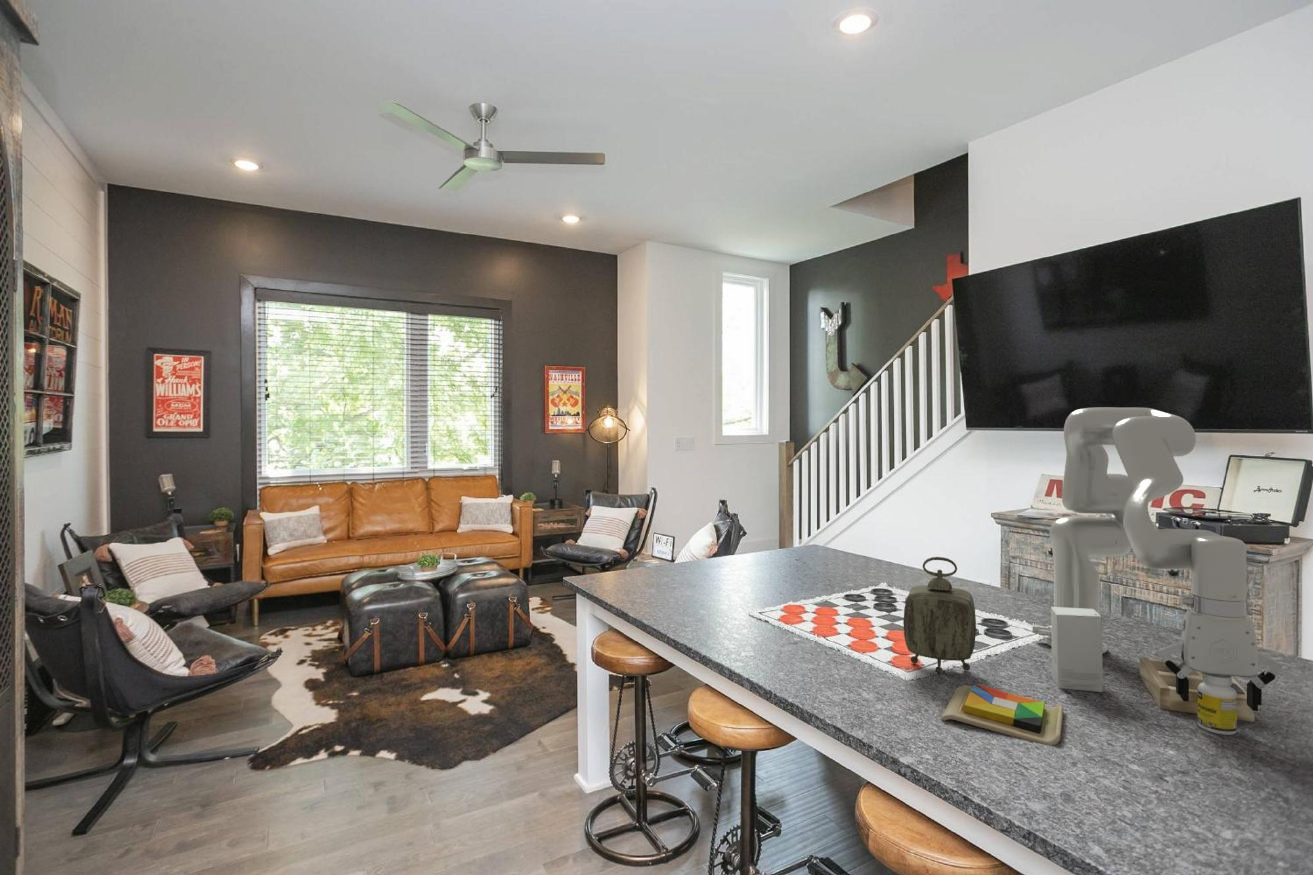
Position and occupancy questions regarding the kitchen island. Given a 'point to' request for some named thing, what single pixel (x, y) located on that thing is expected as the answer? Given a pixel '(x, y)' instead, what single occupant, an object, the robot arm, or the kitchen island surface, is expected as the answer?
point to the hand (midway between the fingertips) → (1217, 703)
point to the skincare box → (1077, 649)
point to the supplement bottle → (1217, 704)
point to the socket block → (1165, 695)
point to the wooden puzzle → (1005, 713)
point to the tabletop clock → (940, 620)
